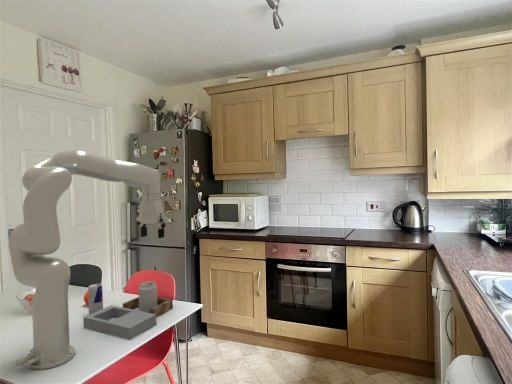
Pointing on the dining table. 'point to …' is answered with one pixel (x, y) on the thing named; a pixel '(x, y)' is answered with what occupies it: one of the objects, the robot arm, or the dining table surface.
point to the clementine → (86, 298)
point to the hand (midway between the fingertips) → (152, 237)
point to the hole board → (120, 321)
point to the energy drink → (95, 298)
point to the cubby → (160, 309)
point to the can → (147, 296)
